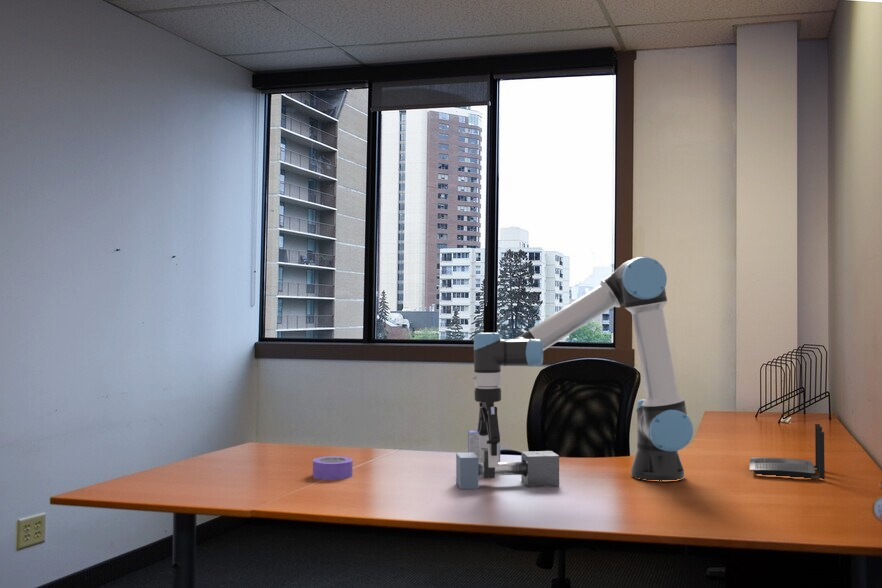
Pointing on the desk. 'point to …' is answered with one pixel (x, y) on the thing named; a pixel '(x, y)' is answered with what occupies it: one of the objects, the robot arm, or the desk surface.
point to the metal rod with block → (503, 468)
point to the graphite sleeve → (540, 468)
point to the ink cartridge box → (477, 444)
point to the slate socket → (467, 470)
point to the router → (793, 462)
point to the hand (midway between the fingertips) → (488, 462)
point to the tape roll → (332, 468)
